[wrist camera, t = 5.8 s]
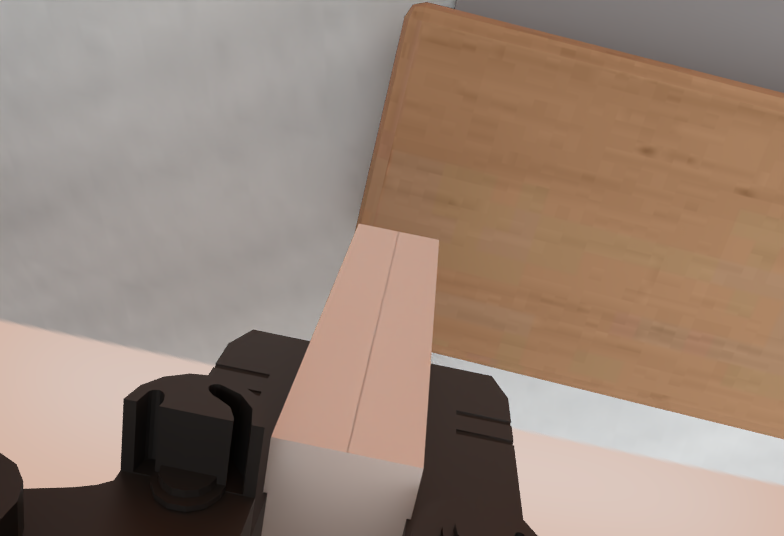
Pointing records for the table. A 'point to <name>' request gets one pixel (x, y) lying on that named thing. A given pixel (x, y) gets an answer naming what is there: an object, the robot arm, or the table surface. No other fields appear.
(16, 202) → the table surface
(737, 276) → the wooden block
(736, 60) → the mat
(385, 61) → the table surface
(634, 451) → the table surface
